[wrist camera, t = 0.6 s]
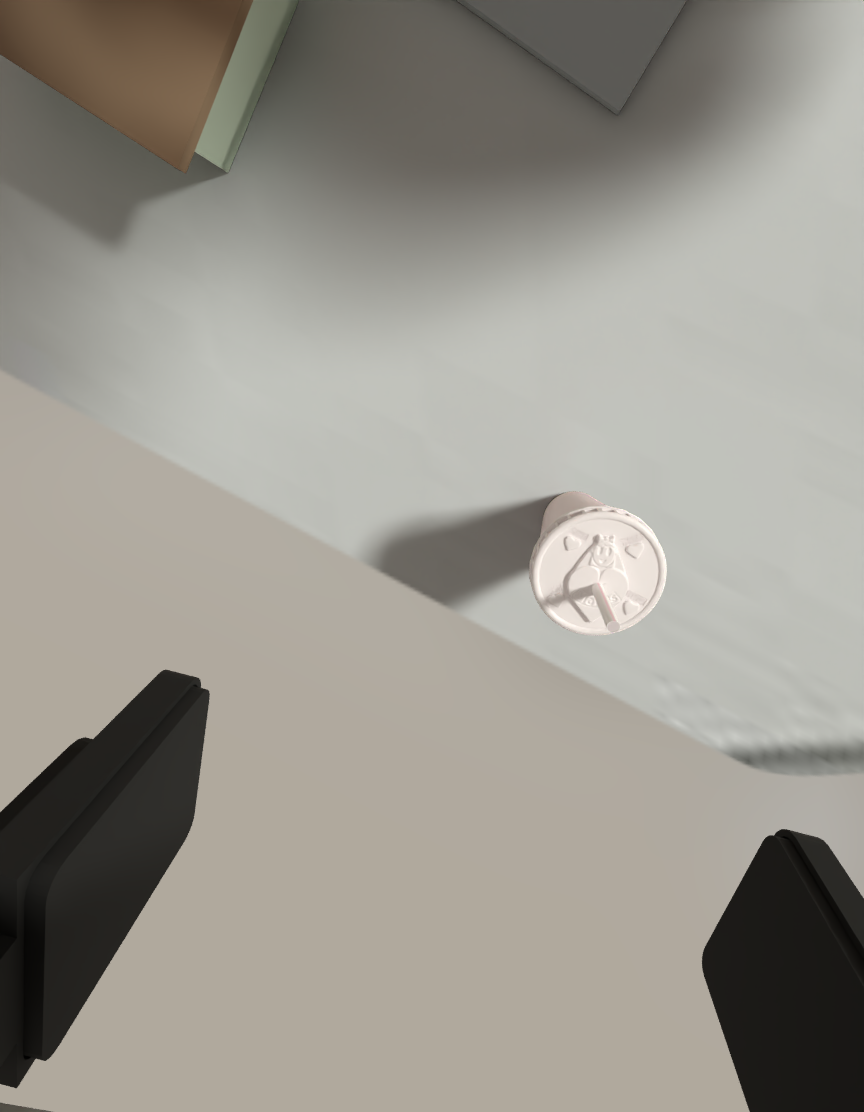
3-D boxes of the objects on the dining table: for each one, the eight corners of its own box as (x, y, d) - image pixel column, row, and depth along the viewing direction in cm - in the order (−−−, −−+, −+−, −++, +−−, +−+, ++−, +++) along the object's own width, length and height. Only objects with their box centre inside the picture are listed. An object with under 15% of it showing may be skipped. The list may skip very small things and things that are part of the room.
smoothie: (514, 563, 39) (526, 674, 26) (527, 464, 37) (548, 531, 24) (616, 573, 39) (679, 692, 26) (635, 474, 37) (714, 548, 24)
